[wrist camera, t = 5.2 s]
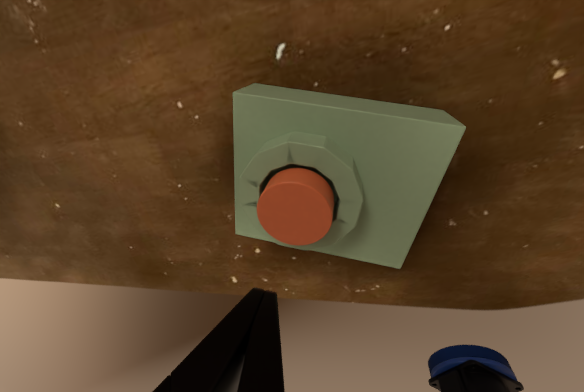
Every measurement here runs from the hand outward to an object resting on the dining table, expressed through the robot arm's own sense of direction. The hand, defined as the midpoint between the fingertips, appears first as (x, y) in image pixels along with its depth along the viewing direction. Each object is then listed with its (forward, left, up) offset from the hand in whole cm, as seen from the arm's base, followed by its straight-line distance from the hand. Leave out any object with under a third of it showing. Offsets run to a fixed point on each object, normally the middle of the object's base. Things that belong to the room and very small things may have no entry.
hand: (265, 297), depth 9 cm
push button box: (-2, 0, -12) cm, 12 cm away
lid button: (0, 0, -7) cm, 7 cm away
